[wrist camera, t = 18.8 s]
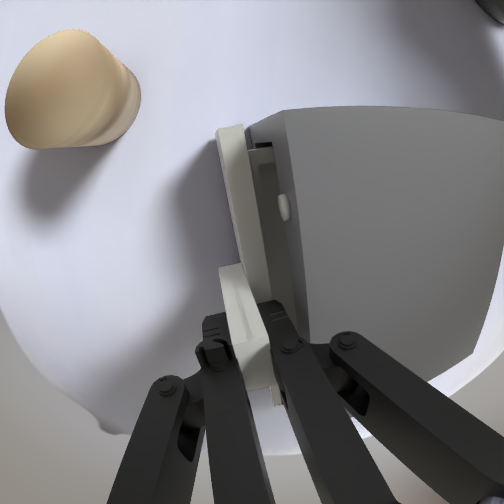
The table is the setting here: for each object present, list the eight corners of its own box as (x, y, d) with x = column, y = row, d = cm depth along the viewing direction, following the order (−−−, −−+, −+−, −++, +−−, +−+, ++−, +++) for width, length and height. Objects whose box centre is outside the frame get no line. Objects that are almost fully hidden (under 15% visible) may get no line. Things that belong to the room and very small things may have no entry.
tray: (418, 117, 15) (457, 118, 11) (412, 319, 21) (436, 343, 18) (215, 133, 14) (217, 128, 10) (263, 368, 20) (274, 406, 17)
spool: (60, 83, 11) (4, 64, 6) (135, 53, 11) (102, 10, 6) (71, 157, 13) (12, 167, 7) (147, 130, 13) (113, 121, 8)
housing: (433, 117, 15) (507, 121, 9) (426, 310, 22) (472, 353, 15) (245, 126, 14) (275, 111, 8) (283, 361, 21) (310, 431, 14)
